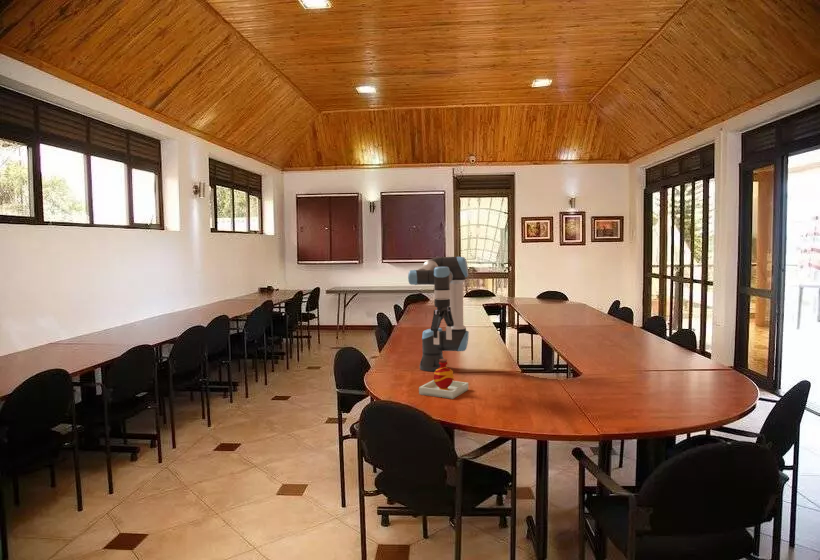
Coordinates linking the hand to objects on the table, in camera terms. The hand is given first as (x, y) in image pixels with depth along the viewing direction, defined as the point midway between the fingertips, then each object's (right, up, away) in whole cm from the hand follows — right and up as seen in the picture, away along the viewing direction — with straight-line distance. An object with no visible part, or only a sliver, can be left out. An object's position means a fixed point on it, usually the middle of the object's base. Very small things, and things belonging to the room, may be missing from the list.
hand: (442, 342), depth 262 cm
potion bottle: (+1, -24, +1) cm, 24 cm away
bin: (+1, -25, +1) cm, 25 cm away
